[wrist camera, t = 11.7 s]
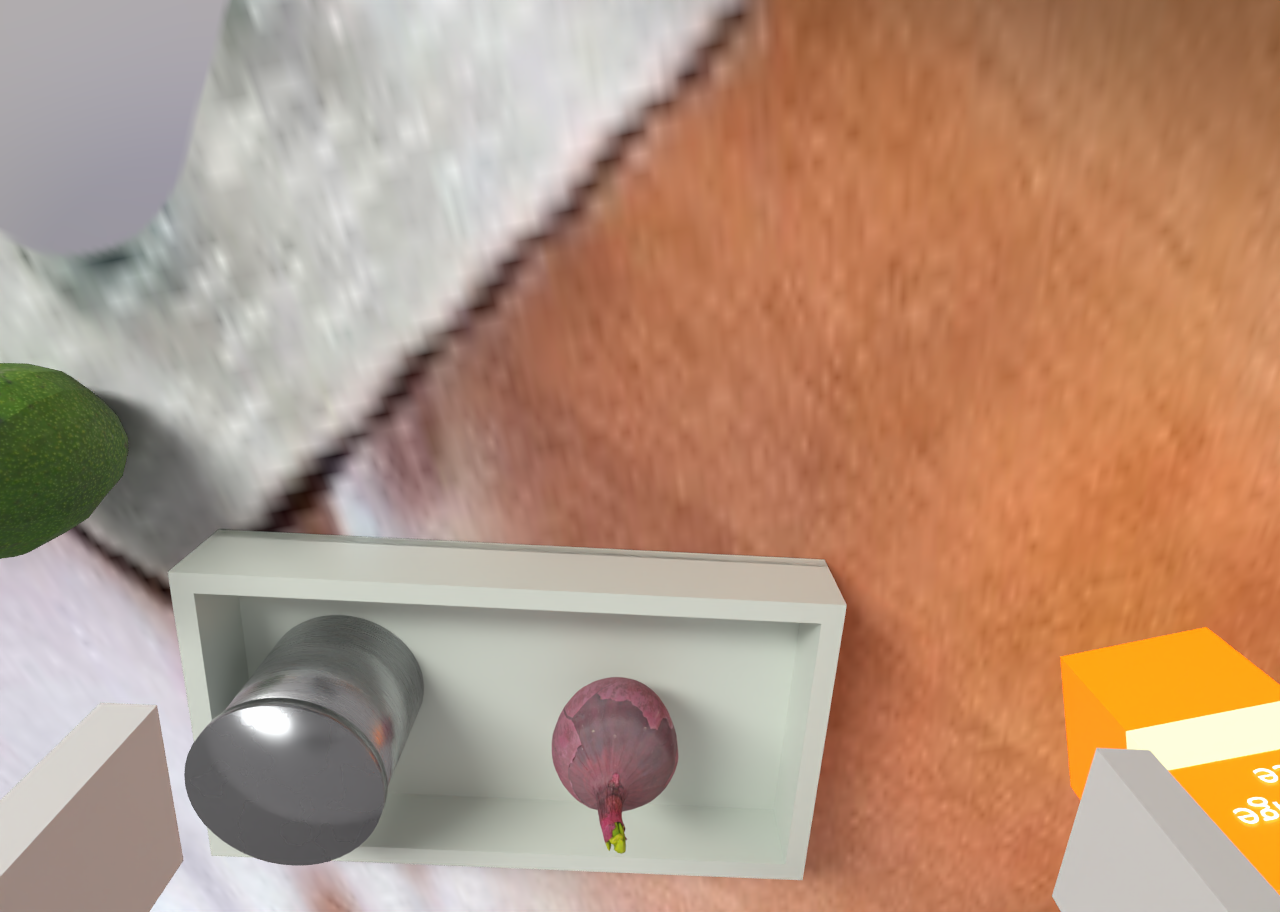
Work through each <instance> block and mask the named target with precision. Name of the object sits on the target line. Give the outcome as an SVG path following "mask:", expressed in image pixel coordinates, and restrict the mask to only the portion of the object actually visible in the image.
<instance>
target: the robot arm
mask: <svg viewBox="0 0 1280 912" xmlns="http://www.w3.org/2000/svg"><path fill="white" fill-rule="evenodd" d="M182 862H183V855H182V849H181V843H180V838H179V832H178V826H177V820H176V814H175V808H174V802H173V797H172V791H171V785H170V779H169V773H168V767H167V762H166V756H165V750H164V744H163V738H162V732H161V726H160V721H159V715H158V709H157V705H140V704H117V703H100V704H99V705H98V706H97V707H96V708H95V709H94V710H93V711H92V712H91V713H90V714H89V715H87V716H86V717H85V718H84V719H83V720H82V721H81V722H80V723H79V724H78V725H77V726H76V727H75V728H74V729H73V730H72V731H71V732H70V733H69V734H68V735H67V736H66V737H65V738H64V739H63V740H62V741H61V742H60V743H59V744H58V745H57V746H56V747H55V748H54V749H53V750H52V751H51V752H50V753H49V754H47V755H46V756H45V757H44V758H43V759H42V760H41V761H40V762H39V763H38V764H37V765H36V766H35V767H34V768H33V769H32V770H31V771H30V772H29V773H28V774H27V775H26V776H25V777H24V778H23V779H22V780H21V781H20V782H19V783H18V784H17V785H16V786H15V787H14V788H13V789H12V790H11V791H10V792H9V793H7V794H6V795H5V796H4V797H3V798H2V799H1V800H0V912H149V911H150V910H151V908H152V907H153V905H154V904H155V902H156V901H157V899H158V898H159V896H160V895H161V893H162V892H163V890H164V889H165V887H166V886H167V884H168V883H169V881H170V880H171V878H172V877H173V875H174V874H175V872H176V871H177V869H178V868H179V866H180V865H181V863H182ZM1052 897H1053V899H1054V900H1055V902H1056V904H1057V906H1058V907H1059V909H1060V911H1061V912H1280V895H1279V894H1278V893H1277V892H1276V890H1275V889H1274V888H1273V887H1272V886H1271V885H1270V884H1269V883H1268V881H1267V880H1266V879H1265V878H1264V877H1263V876H1262V875H1261V874H1260V873H1259V871H1258V870H1257V869H1256V868H1255V867H1254V866H1253V865H1252V864H1251V863H1250V861H1249V860H1248V859H1247V858H1246V857H1245V856H1244V855H1243V854H1242V852H1241V851H1240V850H1239V849H1238V848H1237V847H1236V846H1235V845H1234V844H1233V842H1232V841H1231V840H1230V839H1229V838H1228V837H1227V836H1226V835H1225V834H1224V832H1223V831H1222V830H1221V829H1220V828H1219V827H1218V826H1217V825H1216V823H1215V822H1214V821H1213V820H1212V819H1211V818H1210V817H1209V816H1208V815H1207V813H1206V812H1205V811H1204V810H1203V809H1202V808H1201V807H1200V806H1199V805H1198V803H1197V802H1196V801H1195V800H1194V799H1193V798H1192V797H1191V796H1190V794H1189V793H1188V792H1187V791H1186V790H1185V789H1184V788H1183V787H1182V786H1181V784H1180V783H1179V782H1178V781H1177V780H1176V779H1175V778H1174V777H1173V776H1172V774H1171V773H1170V772H1169V771H1168V770H1167V769H1166V768H1165V767H1164V765H1163V764H1162V763H1161V762H1160V761H1159V760H1158V759H1157V758H1156V757H1155V755H1154V754H1153V753H1152V752H1151V751H1150V750H1136V749H1114V748H1096V751H1095V754H1094V757H1093V761H1092V764H1091V767H1090V771H1089V774H1088V777H1087V781H1086V784H1085V787H1084V791H1083V794H1082V797H1081V801H1080V804H1079V808H1078V811H1077V814H1076V818H1075V821H1074V824H1073V828H1072V831H1071V834H1070V838H1069V841H1068V844H1067V848H1066V851H1065V854H1064V858H1063V861H1062V865H1061V868H1060V871H1059V875H1058V878H1057V881H1056V885H1055V888H1054V891H1053V895H1052Z"/></svg>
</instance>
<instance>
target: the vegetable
mask: <svg viewBox="0 0 1280 912" xmlns="http://www.w3.org/2000/svg"><path fill="white" fill-rule="evenodd" d="M552 759H553V764H554V767H555V770H556V772H557V774H558V776H559V778H560V780H561V782H562V784H563V785H564V787H565V788H566V789H567V790H568V792H569V793H570V794H571V795H572V796H573V797H574V798H575V799H576V800H577V801H579V802H580V803H582V804H584V805H585V806H587V807H589V808H591V809H595V810H598V815H599V821H600V826H601V829H602V833H603V837H604V841H605V844H606V846H607V849H608V851H610V849H611V844H613V845H614V850H615V851H616V852H617V853H621V854H622V853H625V851H626V840H627V838H626V837H625V834H624V832H625V826H624V824H623V821H622V812H623V811H628V810H632V809H635V808H638V807H641V806H643V805H645V804H647V803H649V802H651V801H652V800H654V799H655V798H656V797H657V796H658V795H660V794H661V793H662V792H663V791H664V789H665V788H666V787H667V785H668V784H669V782H670V781H671V779H672V777H673V775H674V773H675V770H676V767H677V763H678V744H677V735H676V731H675V728H674V725H673V722H672V720H671V717H670V715H669V712H668V710H667V708H666V707H665V705H664V704H663V702H662V701H661V699H660V698H659V696H658V695H657V694H656V693H655V692H654V691H653V690H652V689H650V688H649V687H648V686H646V685H645V684H643V683H641V682H639V681H637V680H634V679H629V678H624V677H610V678H604V679H600V680H597V681H594V682H592V683H590V684H588V685H586V686H584V687H583V688H581V689H580V690H579V691H577V692H576V693H575V694H574V696H573V697H572V698H571V699H570V700H569V701H568V703H567V704H566V705H565V707H564V708H563V710H562V712H561V714H560V716H559V718H558V721H557V723H556V726H555V729H554V732H553V736H552Z"/></svg>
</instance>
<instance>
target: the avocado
mask: <svg viewBox="0 0 1280 912" xmlns="http://www.w3.org/2000/svg"><path fill="white" fill-rule="evenodd" d="M127 454H128V437H127V435H126V433H125V431H124V428H123V426H122V424H121V422H120V420H119V418H118V416H117V415H116V414H115V413H114V412H113V411H112V410H111V409H110V407H109V406H108V405H107V404H106V403H105V402H104V401H103V400H102V399H101V398H99V397H98V396H97V395H95V394H94V393H93V392H92V391H91V390H89V389H88V388H86V387H85V386H83V385H82V384H81V383H79V382H78V381H76V380H75V379H74V378H72V377H71V376H69V375H67V374H65V373H64V372H62V371H58V370H54V369H49V368H45V367H40V366H36V365H31V364H16V363H0V559H1V558H8V557H15V556H19V555H23V554H25V553H28V552H30V551H32V550H34V549H36V548H38V547H40V546H41V545H43V544H45V543H47V542H49V541H51V540H52V539H54V538H56V537H58V536H60V535H62V534H64V533H65V532H67V531H69V530H70V529H72V528H73V527H75V526H76V525H78V524H79V523H81V522H83V521H84V520H86V519H87V518H89V516H90V515H91V514H92V513H93V511H94V510H95V509H96V507H97V506H98V505H99V503H100V502H101V501H102V500H103V498H104V497H105V496H106V495H107V493H108V492H109V491H110V490H111V489H112V488H113V486H114V485H115V484H116V483H117V482H118V481H119V480H120V478H121V477H122V476H123V472H124V468H125V463H126V459H127Z"/></svg>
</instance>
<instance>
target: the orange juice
mask: <svg viewBox="0 0 1280 912" xmlns="http://www.w3.org/2000/svg"><path fill="white" fill-rule="evenodd" d="M1060 659H1061V671H1062V684H1063V696H1064V708H1065V721H1066V733H1067V745H1068V758H1069V770H1070V782H1071V787H1072V789H1073V790H1074V792H1075V793H1076V794H1077V796H1078V797H1079V799H1080V800H1081V797H1082V794H1083V791H1084V787H1085V784H1086V781H1087V777H1088V774H1089V771H1090V767H1091V764H1092V761H1093V757H1094V754H1095V751H1096V748H1114V749H1136V750H1150V751H1151V752H1152V753H1153V754H1154V755H1155V757H1156V758H1157V759H1158V760H1159V761H1160V762H1161V763H1162V764H1163V765H1164V767H1165V768H1166V769H1167V770H1168V771H1169V772H1170V773H1171V774H1172V776H1173V777H1174V778H1175V779H1176V780H1177V781H1178V782H1179V783H1180V784H1181V786H1182V787H1183V788H1184V789H1185V790H1186V791H1187V792H1188V793H1189V794H1190V796H1191V797H1192V798H1193V799H1194V800H1195V801H1196V802H1197V803H1198V805H1199V806H1200V807H1201V808H1202V809H1203V810H1204V811H1205V812H1206V813H1207V815H1208V816H1209V817H1210V818H1211V819H1212V820H1213V821H1214V822H1215V823H1216V825H1217V826H1218V827H1219V828H1220V829H1221V830H1222V831H1223V832H1224V834H1225V835H1226V836H1227V837H1228V838H1229V839H1230V840H1231V841H1232V842H1233V844H1234V845H1235V846H1236V847H1237V848H1238V849H1239V850H1240V851H1241V852H1242V854H1243V855H1244V856H1245V857H1246V858H1247V859H1248V860H1249V861H1250V863H1251V864H1252V865H1253V866H1254V867H1255V868H1256V869H1257V870H1258V871H1259V873H1260V874H1261V875H1262V876H1263V877H1264V878H1265V879H1266V880H1267V881H1268V883H1269V884H1270V885H1271V886H1272V887H1273V888H1274V889H1275V890H1276V892H1277V893H1278V894H1279V895H1280V685H1279V684H1278V683H1277V682H1276V681H1274V680H1273V679H1272V678H1270V677H1269V676H1268V675H1267V674H1265V673H1264V672H1263V671H1262V670H1260V669H1259V668H1258V667H1256V666H1255V665H1254V664H1253V663H1251V662H1250V661H1249V660H1248V659H1246V658H1245V657H1244V656H1242V655H1241V654H1240V653H1239V652H1237V651H1236V650H1235V649H1234V648H1232V647H1231V646H1230V645H1228V644H1227V643H1226V642H1225V641H1223V640H1222V639H1221V638H1220V637H1218V636H1217V635H1216V634H1214V633H1213V632H1212V631H1211V630H1209V629H1208V628H1207V627H1204V628H1200V629H1195V630H1190V631H1185V632H1180V633H1175V634H1170V635H1165V636H1160V637H1155V638H1150V639H1146V640H1141V641H1136V642H1131V643H1126V644H1121V645H1116V646H1111V647H1106V648H1101V649H1097V650H1092V651H1087V652H1082V653H1077V654H1072V655H1067V656H1062V657H1060Z"/></svg>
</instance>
